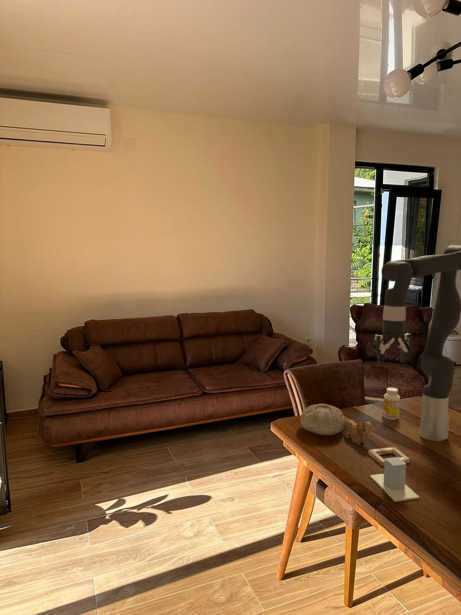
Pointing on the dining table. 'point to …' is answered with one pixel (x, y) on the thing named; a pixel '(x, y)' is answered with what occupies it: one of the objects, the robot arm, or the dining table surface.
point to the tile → (395, 494)
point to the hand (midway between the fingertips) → (391, 362)
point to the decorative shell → (323, 419)
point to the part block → (394, 473)
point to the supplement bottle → (391, 404)
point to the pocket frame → (376, 452)
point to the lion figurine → (359, 430)
